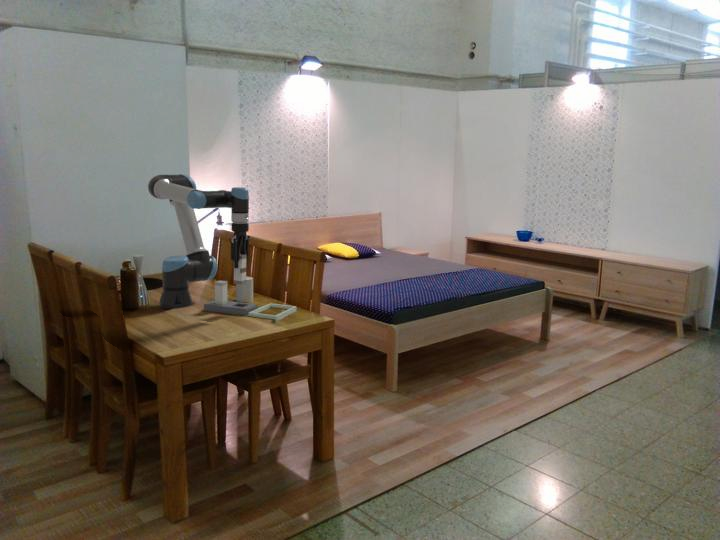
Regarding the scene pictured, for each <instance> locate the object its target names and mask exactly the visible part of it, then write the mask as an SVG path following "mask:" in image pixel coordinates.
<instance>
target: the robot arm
mask: <svg viewBox="0 0 720 540" xmlns="http://www.w3.org/2000/svg"><path fill="white" fill-rule="evenodd" d="M147 189H148V192H149V194H150V195H151V196H152V197H153V198H156V199H158V200H169V204H170V205H171V206H173V207H174V210H175V214H176V217H177V220H178V225H179V228H180V233H181V236H182V240H183V243H184V247H185V251H186V254H184V255H175V256H169V257H166V258H164V259H163V260H162V262H161V263H162V265H161V267H162V268H161V271H162V273H161V276H162V292H161V296H160V299H159V308H160V309H163V310H168V311H169V310H173V309H181V308H187V307H191V306H192V305H193V304H194V303H193V299H192V295H191V293H190V289H189V288H190V286H189V284H190V283H195V282H202V281H203V282H206V281H209V280H212V279H213V278H215V276H216V274H217V272H218V262H217V259H216V258H215V257H214V256H213V255H211V254H210V252H209V250H207V248H205V245H204V242H203V238H202V235H201V231H200V228H199V224H198V220H197V216H196V213H195V210H196V209H197V210H199V209H200V210H202V209H219V208H222V209H223V208H228V209H231V212H230V213H231V218H230V219H231V220H230V221H231V229H230V230H231V231H232V232H233V237H230V238H229V242H230V260H231V261H232V262H233V276H234V275H239V276H240V261H239V258H240V254H246V255H247V258H246V260H248V259H249V256H250V239H251V236H250V235H248V234H247V233H248V232H249V230H250V226H249V225H250V224H249V217H250V216H249V214H250V213H249V211H250V210H249V209H250V208H249V207H250V206H249V205H250V195H249V194H250V193H249V188H247V187H238V186H237V187H235V186H234V187H231V189H230V191H229V190H225V189H220V190H200V189H197V185H196V183H195V180H194V179H193V178H192V177H191V176H189V175H187V174H157V175H155V176H153V177H152V178H151V179H150V180H149V181H148V184H147Z"/></svg>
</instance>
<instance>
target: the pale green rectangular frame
mask: <svg viewBox="0 0 720 540" xmlns="http://www.w3.org/2000/svg"><path fill="white" fill-rule="evenodd" d="M270 308H272V309H273V308H274V309H283V310H285V311H282V312H280V313H278V314H276V315H274V314H269V313H268V314H267V313H261V312H263V311H265V310H268V309H270ZM294 312H295V313H296V312H297V306H294V305H285V304H278V303H271V302H270V303H268V304H265V305H263V306H260V307H257V309H256V310H253V311H251V312H249V313H248V315H247V316H248V317H251V318H252V317H253V318H262V319H267V320H268V319H270V320H271V322H275V321H276V323H277V322H279V321H281V320H282V319H285V318H287V317H289V316H291V315H292V313H293V314H295V313H294ZM290 314H291V315H290ZM288 315H289V316H288ZM286 316H287V317H286ZM284 317H285V318H284Z"/></svg>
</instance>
